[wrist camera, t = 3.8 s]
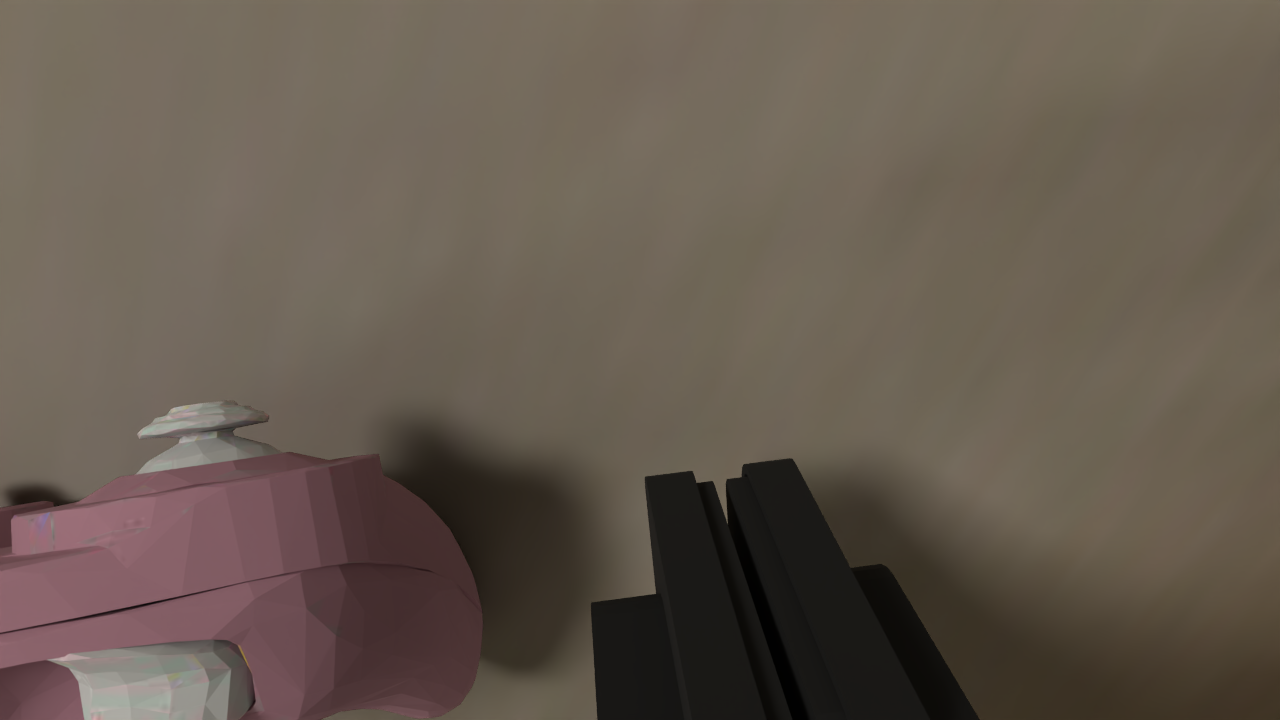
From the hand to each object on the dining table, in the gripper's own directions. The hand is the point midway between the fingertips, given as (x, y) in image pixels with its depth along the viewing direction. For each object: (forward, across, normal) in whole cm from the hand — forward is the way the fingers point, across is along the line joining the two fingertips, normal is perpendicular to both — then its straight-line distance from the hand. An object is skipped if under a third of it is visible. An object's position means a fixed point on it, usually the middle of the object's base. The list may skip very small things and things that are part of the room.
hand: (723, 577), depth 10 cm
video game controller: (+3, +8, 0) cm, 9 cm away
